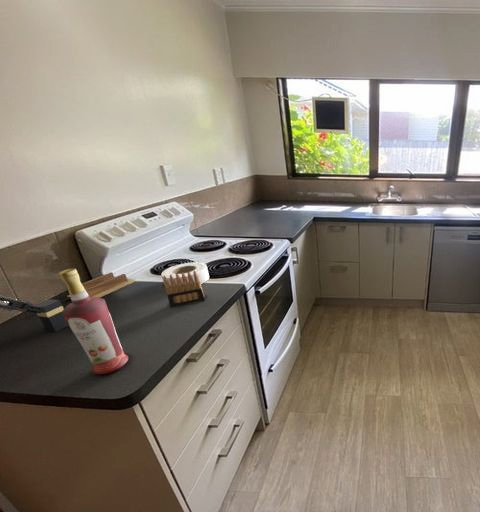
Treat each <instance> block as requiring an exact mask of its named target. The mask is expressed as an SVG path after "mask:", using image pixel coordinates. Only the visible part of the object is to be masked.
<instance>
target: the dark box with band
mask: <svg viewBox="0 0 480 512" xmlns="http://www.w3.org/2000/svg"><path fill="white" fill-rule="evenodd" d="M36 305H41V306H44V307H45V308H44V310H43V311H42V313H36V315H37V316H38V318H39V320H40V321H41V324H42V326H43V327H44V329H45V331H47V332H54V333H57V332H60V331H61V330H63V329H65V328H68V327H70V326H69V324H68V322H67V321H66V319H65V317H64V316H63V314H62V311H63V310H64V309H65V307H64V306H63V305H62V303H61V301H60V300H58V299H51V298H49V299H46V300H43V301H41V302H39V303H37V304H36Z"/></svg>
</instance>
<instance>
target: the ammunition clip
mask: <svg viewBox="0 0 480 512" xmlns="http://www.w3.org/2000/svg"><path fill="white" fill-rule="evenodd" d="M193 274H194V280H195V283H194V281H193V278H192V276H191V274H190V272H188V279H189V283H188V281H187V279H186V276H185V274H184V273H182V279H183V284H182V282H181V279H180V277H179V275H178V274H176V280H177V285H176V283H175V280H174V278H173V276H172V275H170V282H171V286H170V284H169V282H168V279H167V278H166V276H164V277H163V279H164V282H163V285H164V284H165V285H164V289H165V291H166V296H167V299H168V304H169V308H176V307H182V306H184V305H185V306H186V305H190V304H195V303H199V302H200V303H201V302H204V301H206V295H205V293H204V290H203V287H202V284H201V283H200V280H199V278H198V275H197V273H196V272H195V271H194V273H193ZM163 279H162V280H163ZM183 285H184V286H183ZM189 285H190V286H189ZM195 285H196V286H195ZM177 286H178V287H177ZM171 287H172V289H171ZM178 289H179V290H178Z"/></svg>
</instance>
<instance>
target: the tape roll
mask: <svg viewBox="0 0 480 512" xmlns="http://www.w3.org/2000/svg"><path fill="white" fill-rule="evenodd" d="M194 271H195V272H196V273H197V275H198V278H199V280H200V283H201V285H203V284H204V283H206V282H208V281H209V279H210V274H209V269H208V266H207V263H204V262H200V261H199V262H198V261H193V262H185V263H180V264H176V265H173V266H170V267H168V268H166V269H164V270H163V271H162V272H161V274H160V275H161V279H162V282H163V285H164V286H165V284H164V279H163V277H164V276H166V278H167V279H168V282H169V284H170V286H171V282H170V275H172V276H173V278H174V280H175V283H176V285H177V280H176V274H178V275H179V277H180V279H181V282H182V284H183V279H182V273H184V274H185V276H186V279H187V281H188V283H189V279H188V272H190V274H191V276H192V278H193V281H194V283H195V280H194V274H193V273H194ZM183 286H184V285H183ZM189 286H190V285H189ZM195 286H196V285H195ZM177 287H178V286H177ZM171 289H172V287H171ZM178 290H179V289H178Z"/></svg>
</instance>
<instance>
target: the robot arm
mask: <svg viewBox="0 0 480 512" xmlns="http://www.w3.org/2000/svg"><path fill="white" fill-rule="evenodd" d="M44 308H45V307H44V306H41V305H36V304H35V303H32V302H30V301H22V300H19V299H18V298H16V297H9V296H4V295H3V294H0V310H1V311H7V312H11V311H19V312H21V313H25V312H27V313H32V314H33V313H34V314H37V313H42V311H43V310H44Z"/></svg>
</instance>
